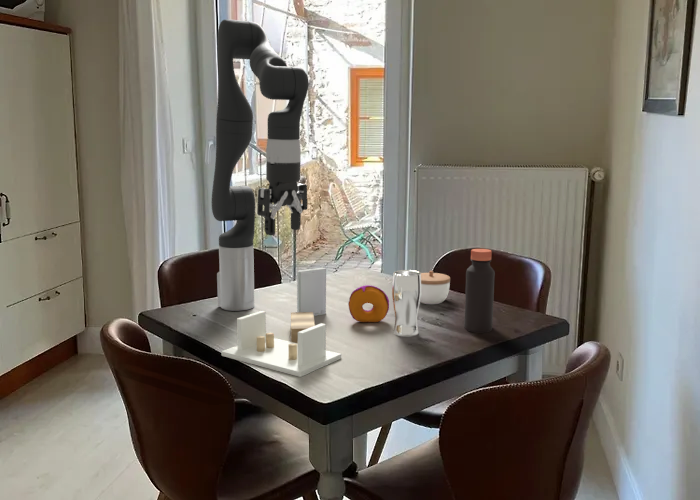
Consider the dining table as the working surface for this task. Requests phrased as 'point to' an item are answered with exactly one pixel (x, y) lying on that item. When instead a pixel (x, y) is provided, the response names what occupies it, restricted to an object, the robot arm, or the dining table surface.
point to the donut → (368, 296)
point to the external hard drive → (311, 291)
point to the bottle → (479, 292)
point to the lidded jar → (434, 287)
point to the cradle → (280, 347)
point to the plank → (300, 323)
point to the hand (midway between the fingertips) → (283, 232)
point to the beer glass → (406, 301)
